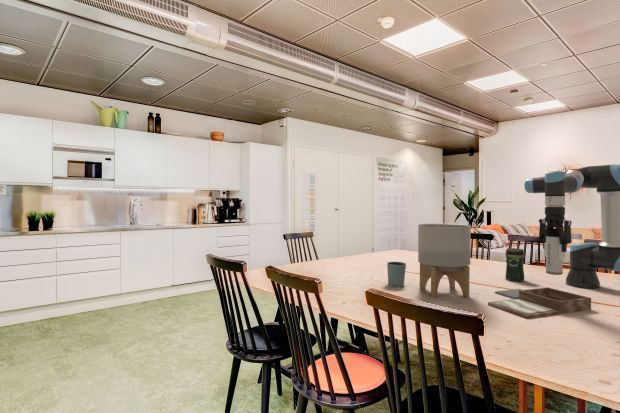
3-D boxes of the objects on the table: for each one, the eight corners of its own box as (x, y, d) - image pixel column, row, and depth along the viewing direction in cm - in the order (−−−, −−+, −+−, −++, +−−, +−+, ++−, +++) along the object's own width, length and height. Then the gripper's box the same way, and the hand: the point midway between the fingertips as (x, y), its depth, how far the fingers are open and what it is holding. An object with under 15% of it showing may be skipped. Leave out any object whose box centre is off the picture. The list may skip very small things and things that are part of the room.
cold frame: (547, 297, 176) (547, 287, 176) (591, 309, 157) (591, 298, 157) (487, 304, 165) (487, 293, 165) (527, 318, 146) (527, 306, 146)
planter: (409, 293, 185) (409, 225, 184) (430, 284, 204) (431, 222, 203) (458, 302, 168) (459, 228, 168) (477, 292, 187) (478, 225, 186)
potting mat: (519, 290, 190) (519, 288, 190) (540, 296, 179) (540, 294, 179) (494, 293, 185) (494, 291, 185) (515, 299, 174) (515, 297, 174)
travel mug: (559, 272, 166) (560, 228, 165) (564, 275, 160) (564, 229, 159) (543, 271, 168) (544, 228, 167) (548, 274, 162) (548, 229, 161)
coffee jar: (525, 280, 214) (525, 248, 213) (522, 282, 208) (523, 249, 207) (507, 277, 220) (507, 246, 220) (503, 280, 214) (504, 248, 214)
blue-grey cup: (385, 282, 209) (385, 261, 209) (403, 282, 208) (403, 261, 208) (389, 286, 199) (389, 264, 198) (407, 286, 198) (407, 264, 198)
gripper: (529, 206, 171) (529, 255, 171) (570, 207, 153) (569, 262, 153) (541, 205, 173) (541, 254, 174) (582, 206, 155) (582, 260, 156)
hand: (554, 257), depth 164 cm, fingers closed on travel mug, 6 cm apart
